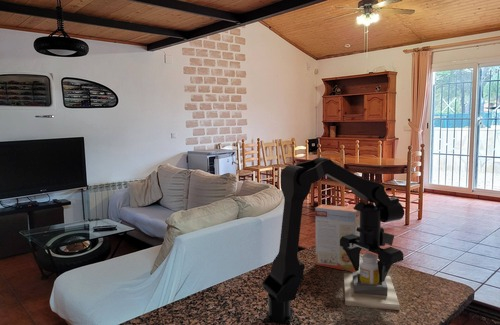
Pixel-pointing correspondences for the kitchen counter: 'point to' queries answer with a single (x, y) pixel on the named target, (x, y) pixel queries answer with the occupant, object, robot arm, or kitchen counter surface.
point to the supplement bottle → (369, 270)
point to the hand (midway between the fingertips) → (369, 276)
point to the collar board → (369, 293)
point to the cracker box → (334, 235)
